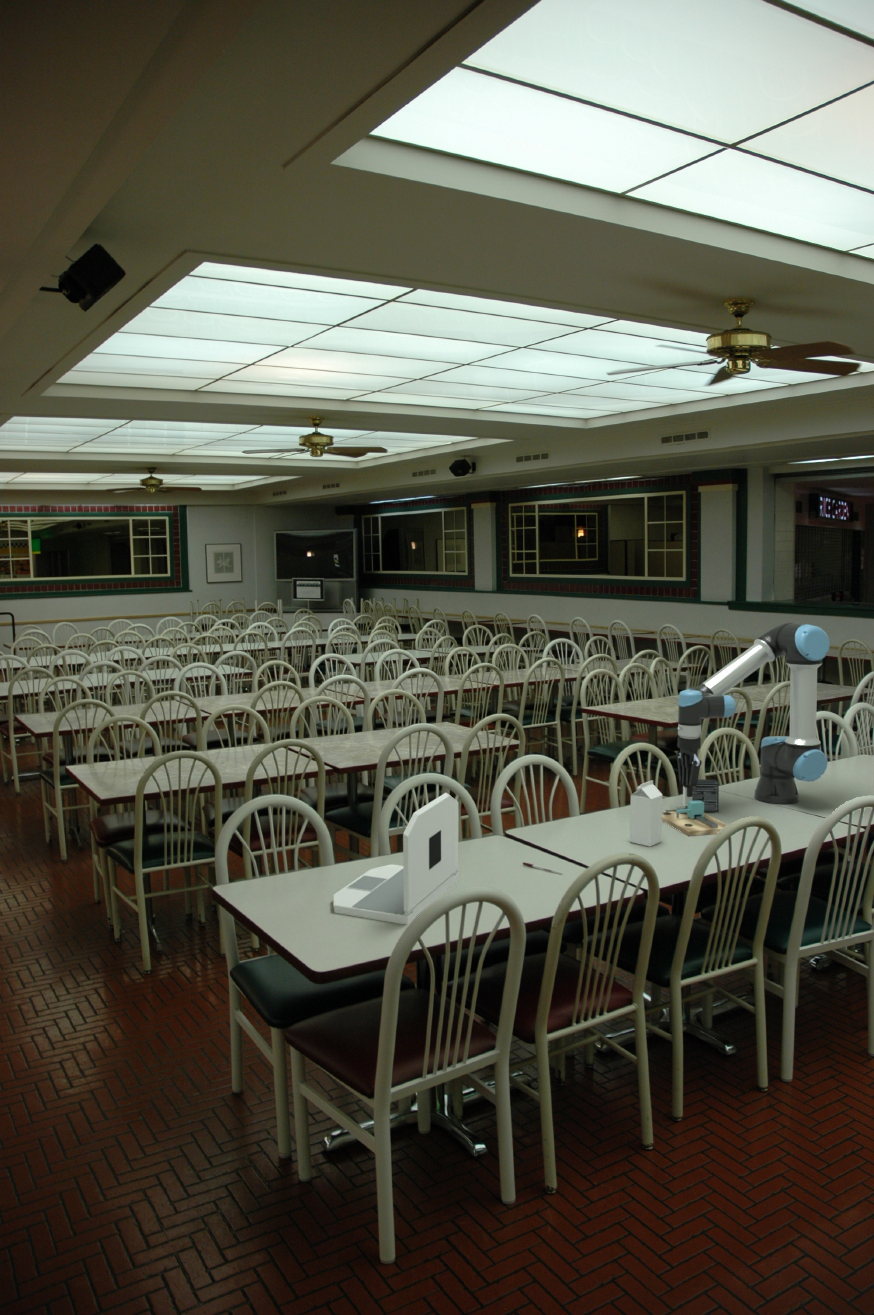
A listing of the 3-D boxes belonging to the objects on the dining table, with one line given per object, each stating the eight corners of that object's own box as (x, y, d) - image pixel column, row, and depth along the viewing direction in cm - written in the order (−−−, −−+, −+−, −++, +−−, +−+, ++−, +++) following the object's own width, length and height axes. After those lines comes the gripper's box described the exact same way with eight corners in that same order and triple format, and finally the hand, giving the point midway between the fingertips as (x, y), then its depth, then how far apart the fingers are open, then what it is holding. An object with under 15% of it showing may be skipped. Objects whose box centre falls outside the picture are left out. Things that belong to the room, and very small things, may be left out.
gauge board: (697, 813, 319) (697, 809, 319) (733, 832, 298) (733, 827, 297) (655, 817, 315) (655, 812, 315) (688, 836, 294) (688, 831, 293)
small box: (715, 808, 326) (716, 778, 325) (719, 813, 320) (719, 783, 319) (684, 807, 327) (685, 778, 326) (687, 812, 321) (688, 782, 320)
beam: (688, 810, 317) (688, 806, 317) (721, 827, 298) (721, 823, 297) (663, 812, 315) (664, 808, 315) (695, 830, 295) (695, 825, 295)
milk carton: (661, 842, 288) (663, 782, 286) (649, 847, 283) (651, 786, 281) (641, 837, 293) (642, 778, 291) (629, 842, 287) (630, 782, 285)
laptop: (379, 870, 264) (378, 779, 261) (458, 881, 255) (458, 787, 252) (321, 912, 233) (319, 809, 230) (408, 926, 224) (408, 819, 221)
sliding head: (699, 815, 310) (699, 800, 310) (703, 818, 308) (704, 802, 307) (674, 817, 308) (674, 802, 308) (678, 820, 305) (679, 804, 305)
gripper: (669, 733, 316) (667, 801, 319) (689, 741, 303) (687, 811, 306) (689, 732, 318) (687, 799, 320) (709, 739, 305) (707, 809, 308)
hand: (687, 805), depth 313 cm, fingers closed
